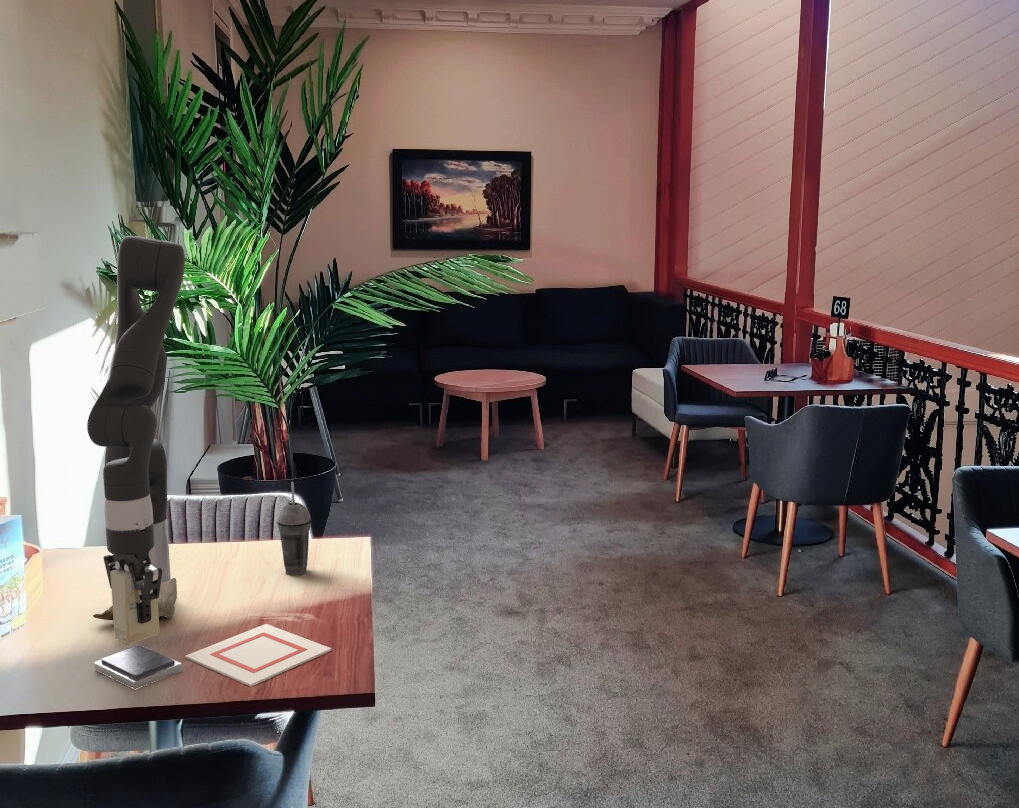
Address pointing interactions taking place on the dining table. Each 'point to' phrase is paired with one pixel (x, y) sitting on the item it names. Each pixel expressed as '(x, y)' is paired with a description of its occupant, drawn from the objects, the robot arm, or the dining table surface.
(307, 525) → the beverage cup
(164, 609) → the ceramic sculpture
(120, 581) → the skincare box
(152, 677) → the ink pad
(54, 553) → the dining table surface
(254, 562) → the dining table surface
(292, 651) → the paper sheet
